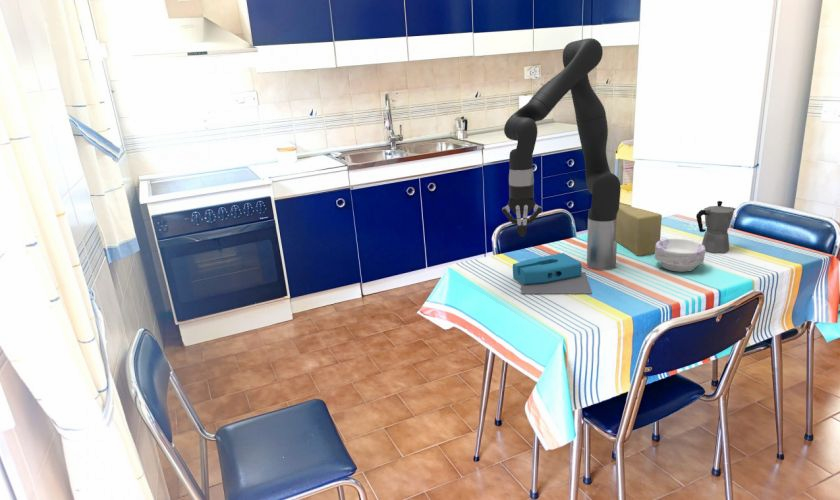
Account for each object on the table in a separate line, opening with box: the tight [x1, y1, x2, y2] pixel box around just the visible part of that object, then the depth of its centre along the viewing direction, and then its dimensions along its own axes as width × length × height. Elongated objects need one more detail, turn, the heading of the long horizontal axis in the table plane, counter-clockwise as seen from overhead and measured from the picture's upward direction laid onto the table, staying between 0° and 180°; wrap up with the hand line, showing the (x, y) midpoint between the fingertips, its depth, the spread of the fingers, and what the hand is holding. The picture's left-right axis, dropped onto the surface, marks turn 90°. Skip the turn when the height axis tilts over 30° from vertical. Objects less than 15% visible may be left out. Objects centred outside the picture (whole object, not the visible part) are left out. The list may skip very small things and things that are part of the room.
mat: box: [520, 271, 593, 295], centre depth 183 cm, size 22×18×1 cm
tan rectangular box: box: [616, 202, 663, 257], centre depth 210 cm, size 22×10×15 cm, turn 16°
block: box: [512, 252, 583, 285], centre depth 188 cm, size 12×5×20 cm
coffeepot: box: [695, 200, 736, 254], centre depth 199 cm, size 15×9×18 cm, turn 103°
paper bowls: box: [654, 238, 706, 273], centre depth 188 cm, size 15×15×8 cm
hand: (522, 235), depth 179 cm, fingers closed
